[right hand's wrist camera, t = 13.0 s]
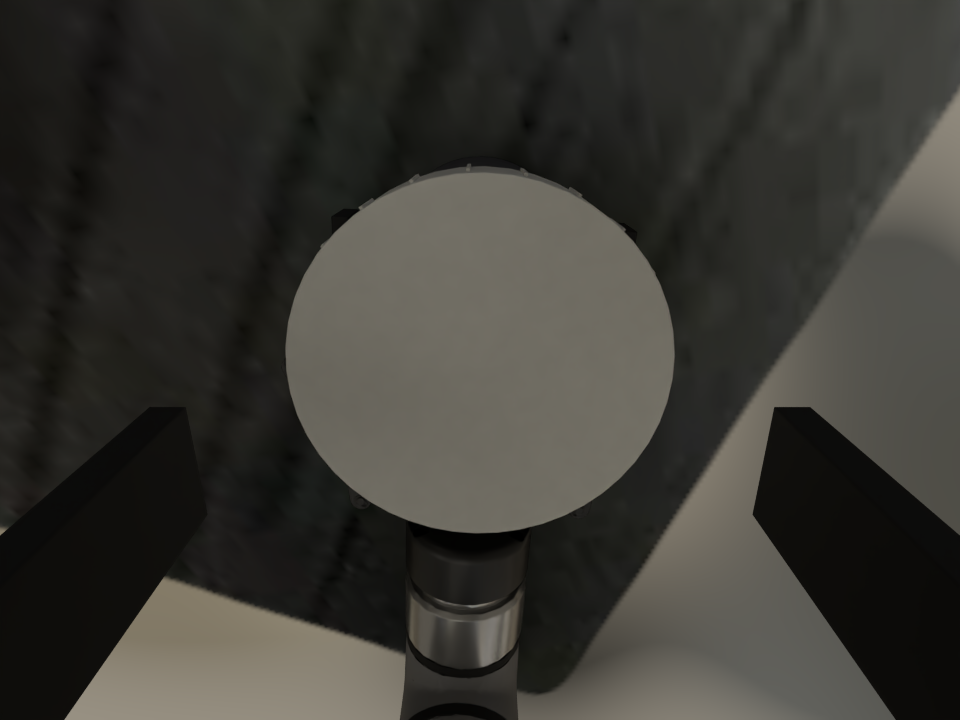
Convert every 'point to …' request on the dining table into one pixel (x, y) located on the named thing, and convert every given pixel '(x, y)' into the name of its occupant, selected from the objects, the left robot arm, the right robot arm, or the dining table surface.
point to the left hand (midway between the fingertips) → (484, 218)
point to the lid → (480, 350)
